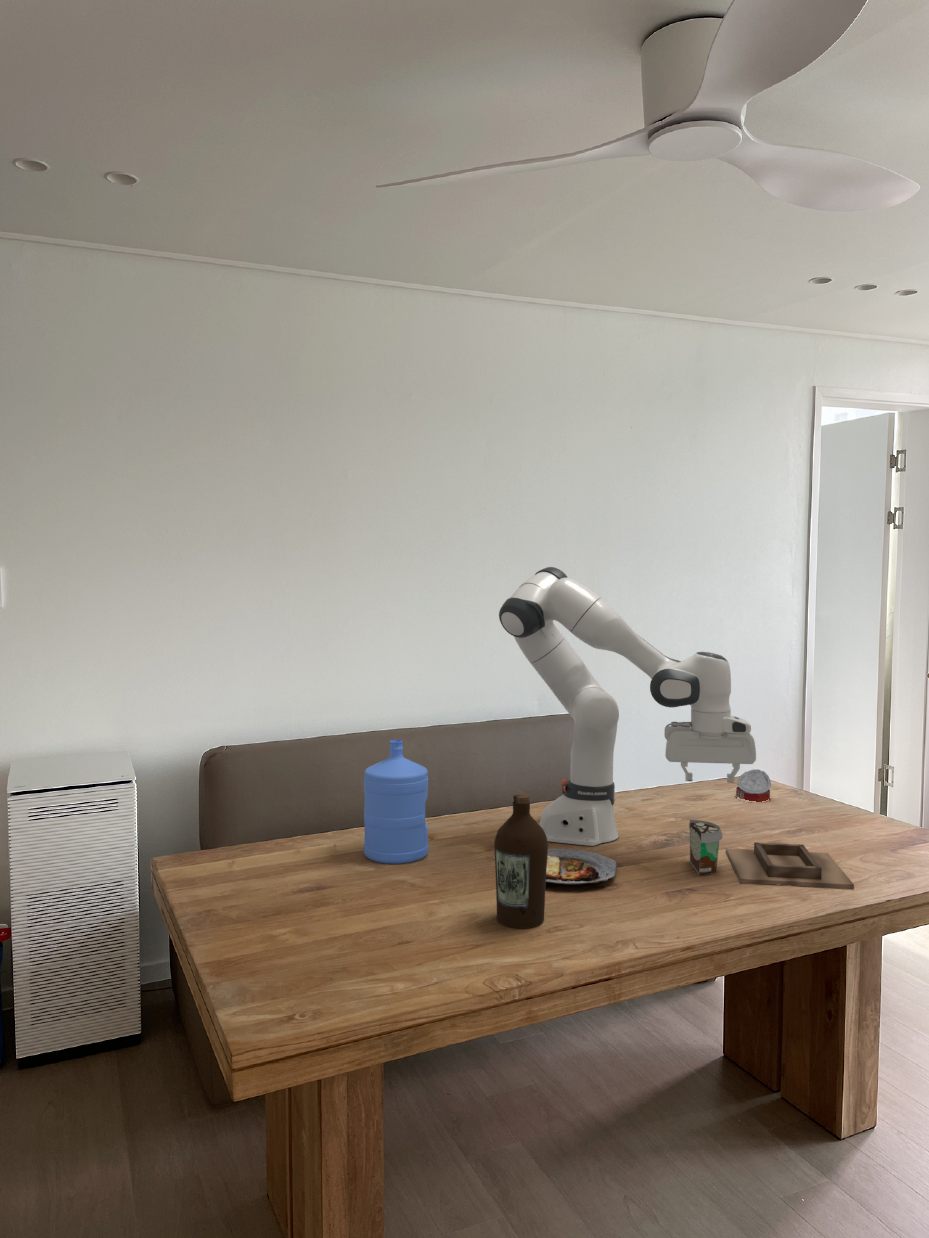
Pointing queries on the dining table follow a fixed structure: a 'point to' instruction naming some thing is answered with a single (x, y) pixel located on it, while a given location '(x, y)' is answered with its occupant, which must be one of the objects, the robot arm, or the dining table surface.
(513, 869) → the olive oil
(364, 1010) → the dining table surface
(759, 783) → the canned food
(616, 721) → the robot arm
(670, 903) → the dining table surface
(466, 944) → the dining table surface
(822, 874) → the caddy board
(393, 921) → the dining table surface
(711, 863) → the food container
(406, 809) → the water jug
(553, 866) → the food plate
